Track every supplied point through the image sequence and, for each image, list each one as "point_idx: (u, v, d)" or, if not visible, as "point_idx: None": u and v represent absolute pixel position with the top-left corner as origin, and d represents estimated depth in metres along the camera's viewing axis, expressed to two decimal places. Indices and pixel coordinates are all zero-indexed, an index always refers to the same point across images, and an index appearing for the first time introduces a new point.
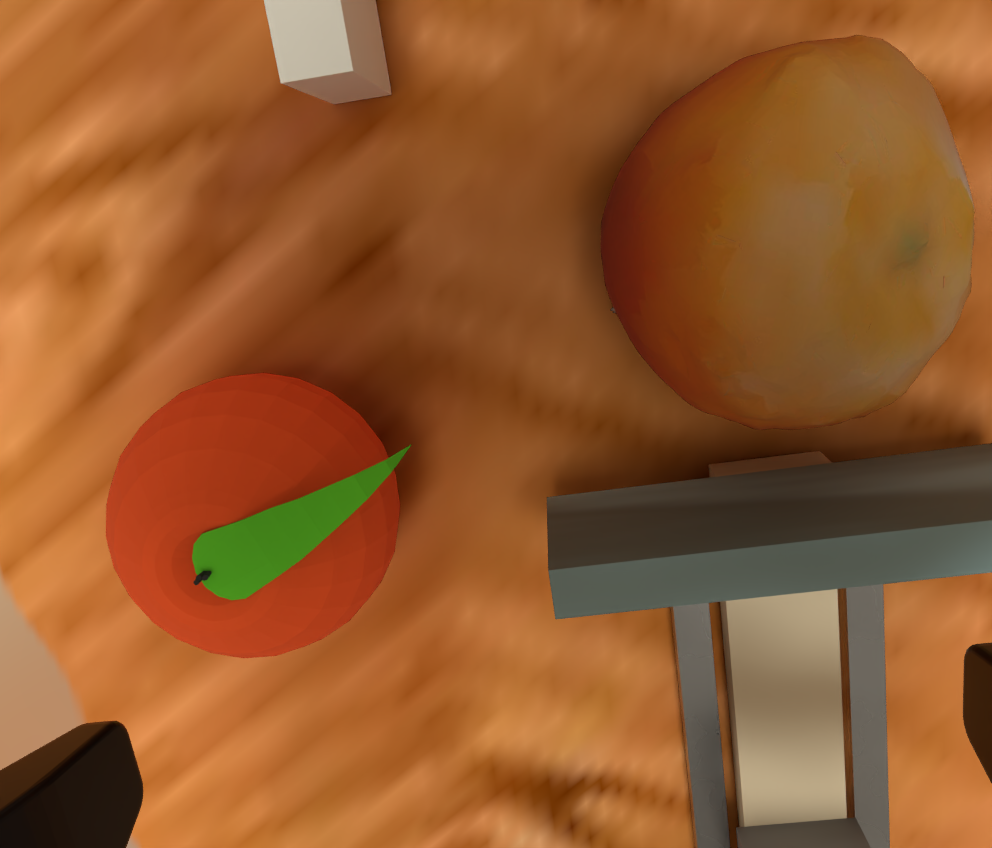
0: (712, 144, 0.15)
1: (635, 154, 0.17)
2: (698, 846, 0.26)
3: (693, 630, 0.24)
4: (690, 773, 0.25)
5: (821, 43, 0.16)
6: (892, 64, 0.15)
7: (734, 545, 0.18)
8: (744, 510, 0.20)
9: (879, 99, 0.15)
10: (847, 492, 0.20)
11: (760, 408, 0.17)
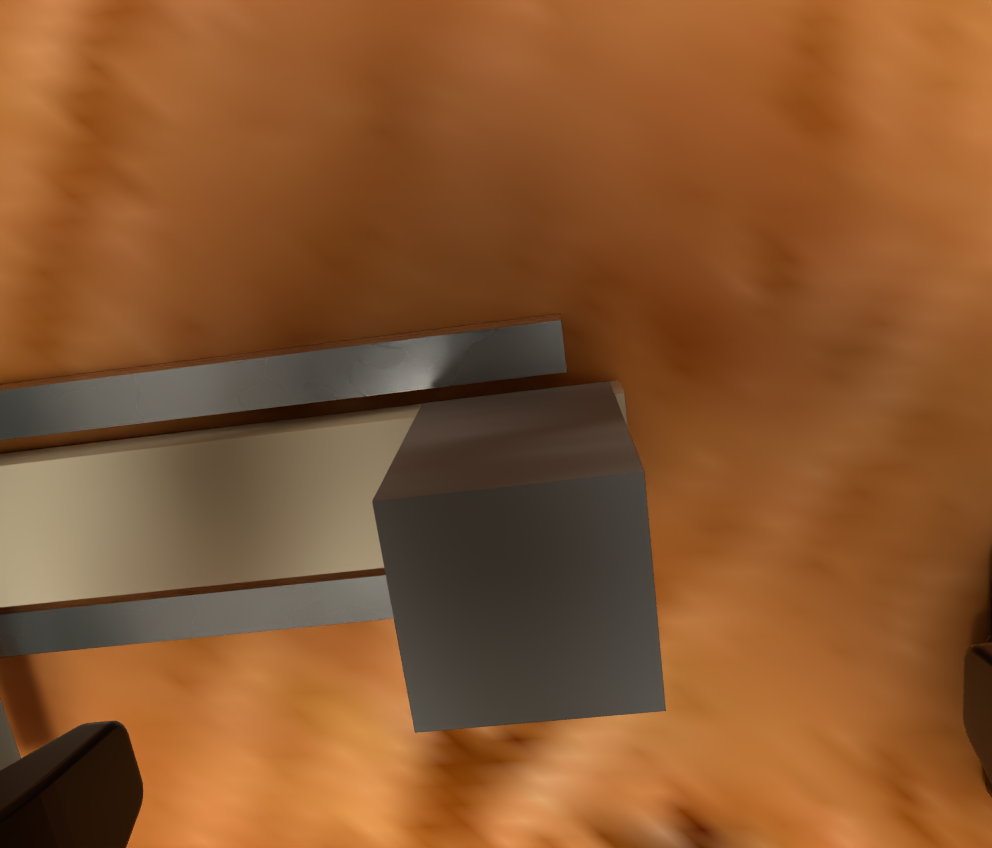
0: None
1: None
2: None
3: (156, 620, 0.18)
4: (385, 616, 0.17)
5: None
6: None
7: None
8: None
9: None
10: None
11: None
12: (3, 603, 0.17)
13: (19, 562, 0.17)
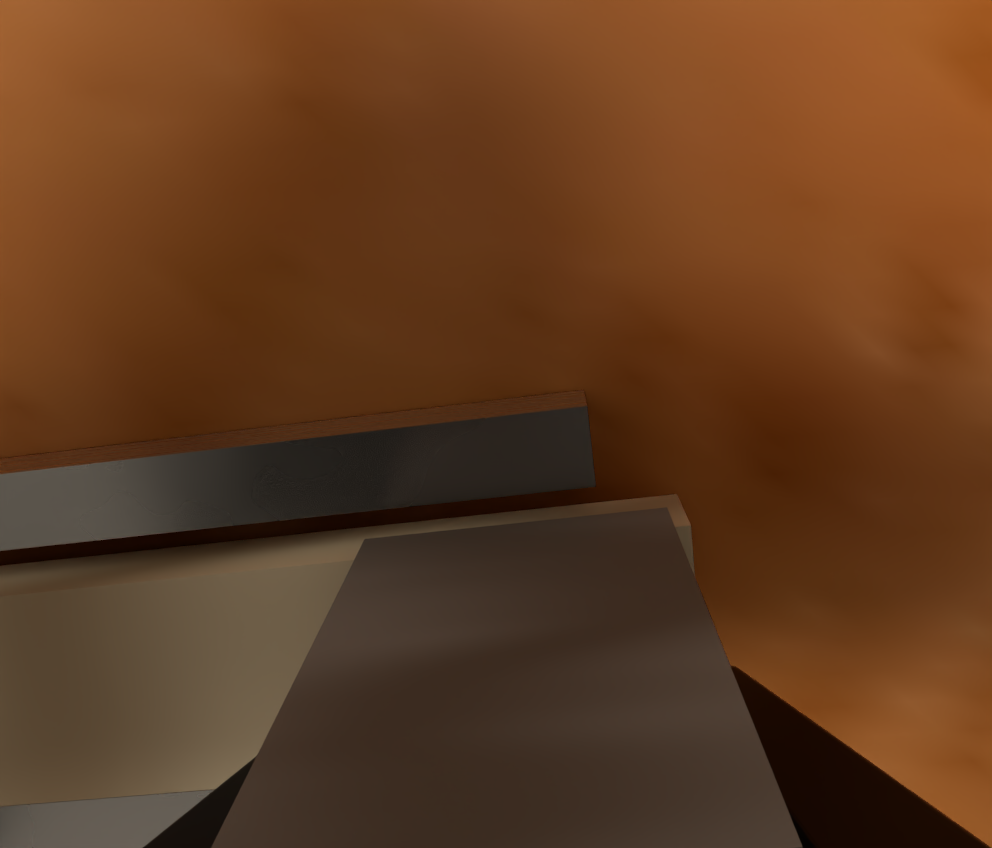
0: None
1: None
2: None
3: None
4: None
5: None
6: None
7: None
8: None
9: None
10: None
11: None
12: None
13: None
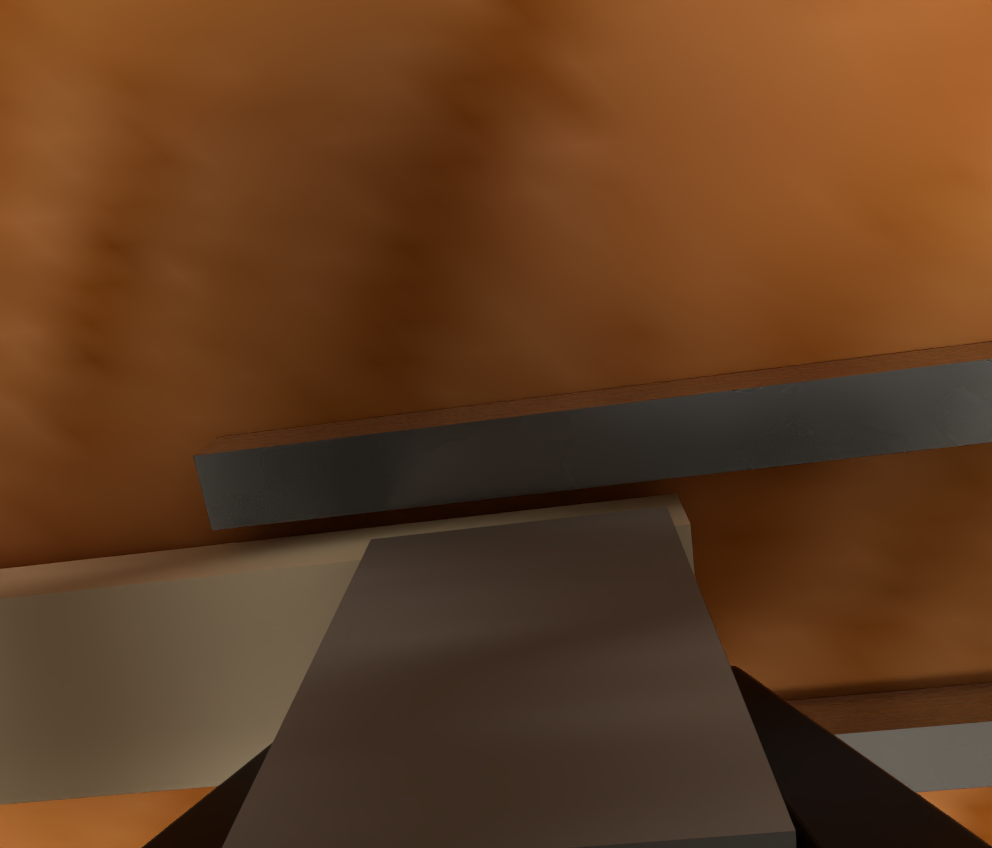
0: None
1: None
2: None
3: None
4: (917, 787, 0.11)
5: None
6: None
7: None
8: None
9: None
10: None
11: None
12: None
13: None
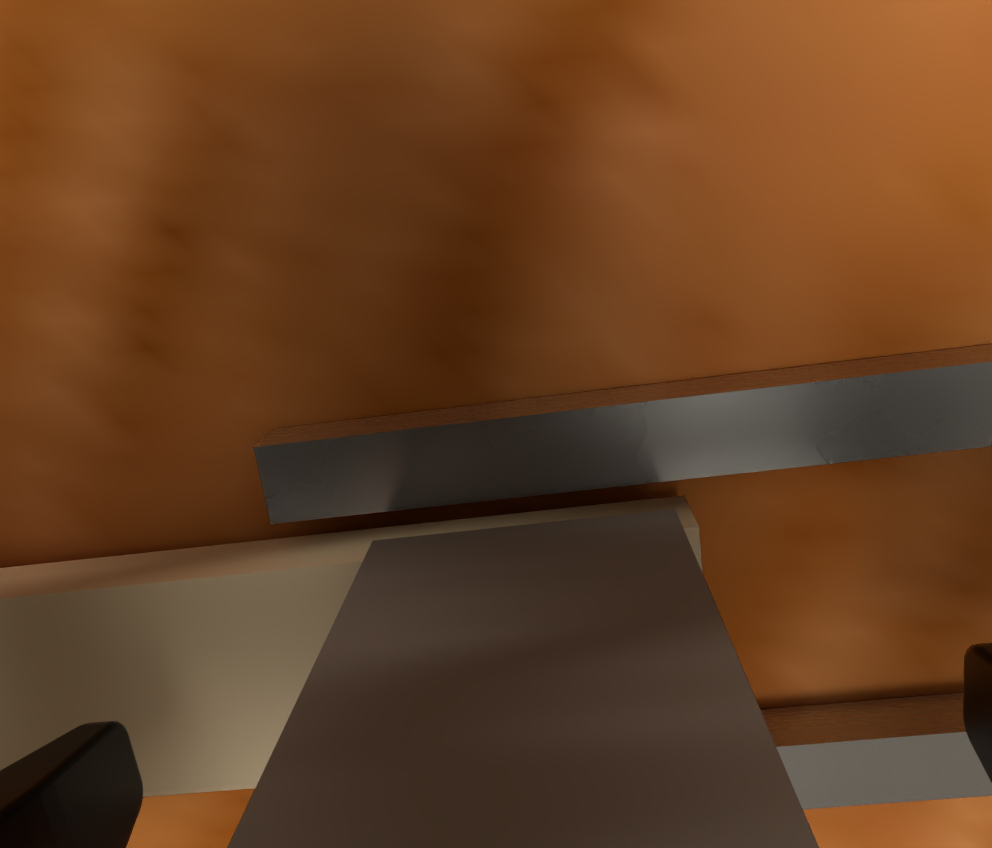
0: None
1: None
2: None
3: None
4: (988, 790, 0.11)
5: None
6: None
7: None
8: None
9: None
10: None
11: None
12: None
13: None
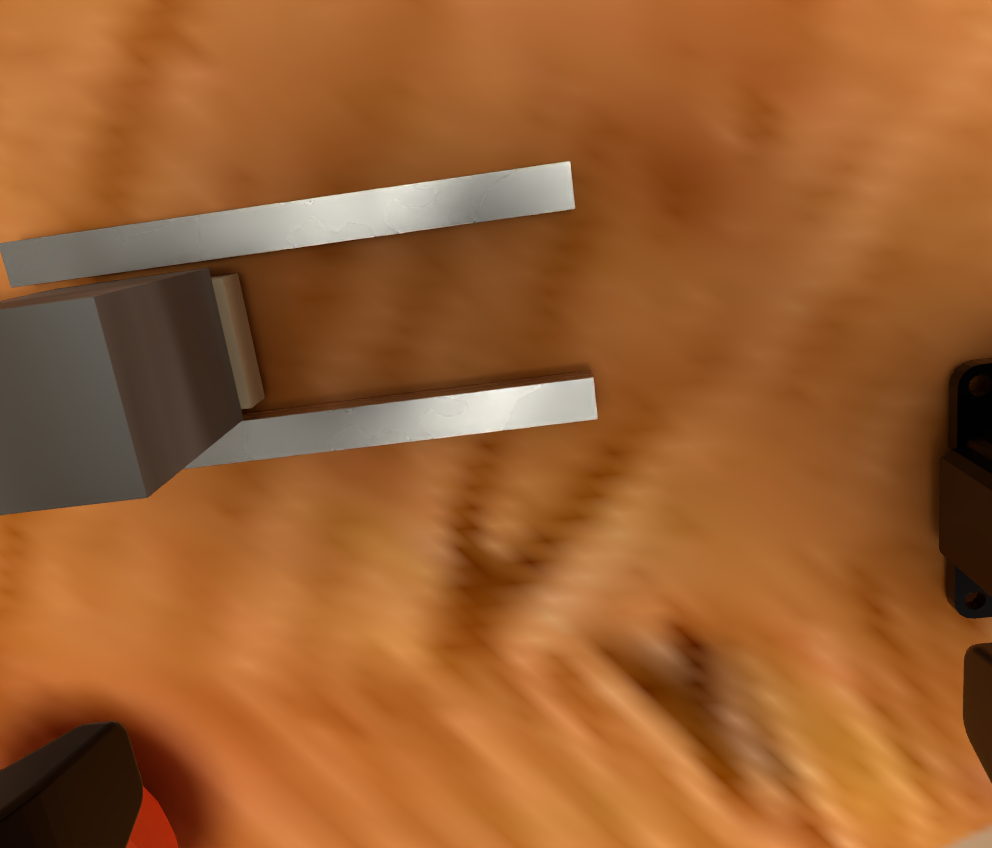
0: None
1: None
2: (525, 426, 0.19)
3: (212, 445, 0.20)
4: (415, 439, 0.20)
5: None
6: None
7: None
8: None
9: None
10: None
11: None
12: None
13: None
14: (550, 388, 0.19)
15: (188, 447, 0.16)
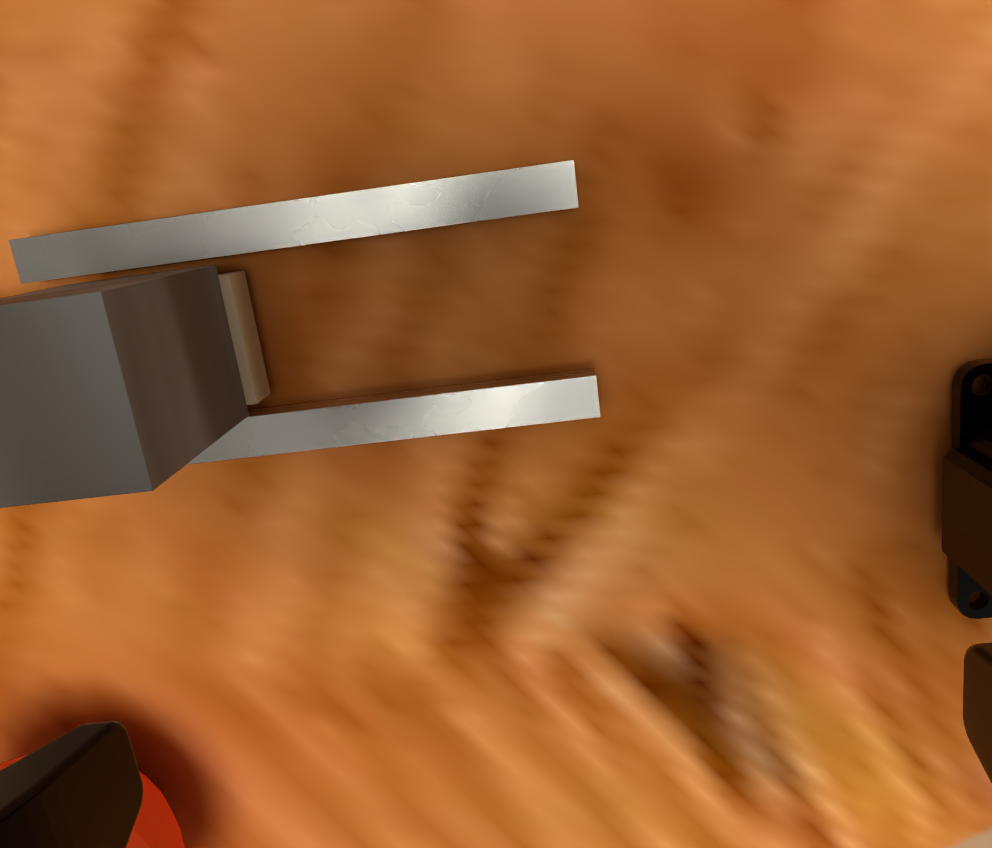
0: None
1: None
2: (528, 423, 0.20)
3: (218, 440, 0.20)
4: (418, 436, 0.20)
5: None
6: None
7: None
8: None
9: None
10: None
11: None
12: None
13: None
14: (553, 385, 0.19)
15: (193, 441, 0.16)
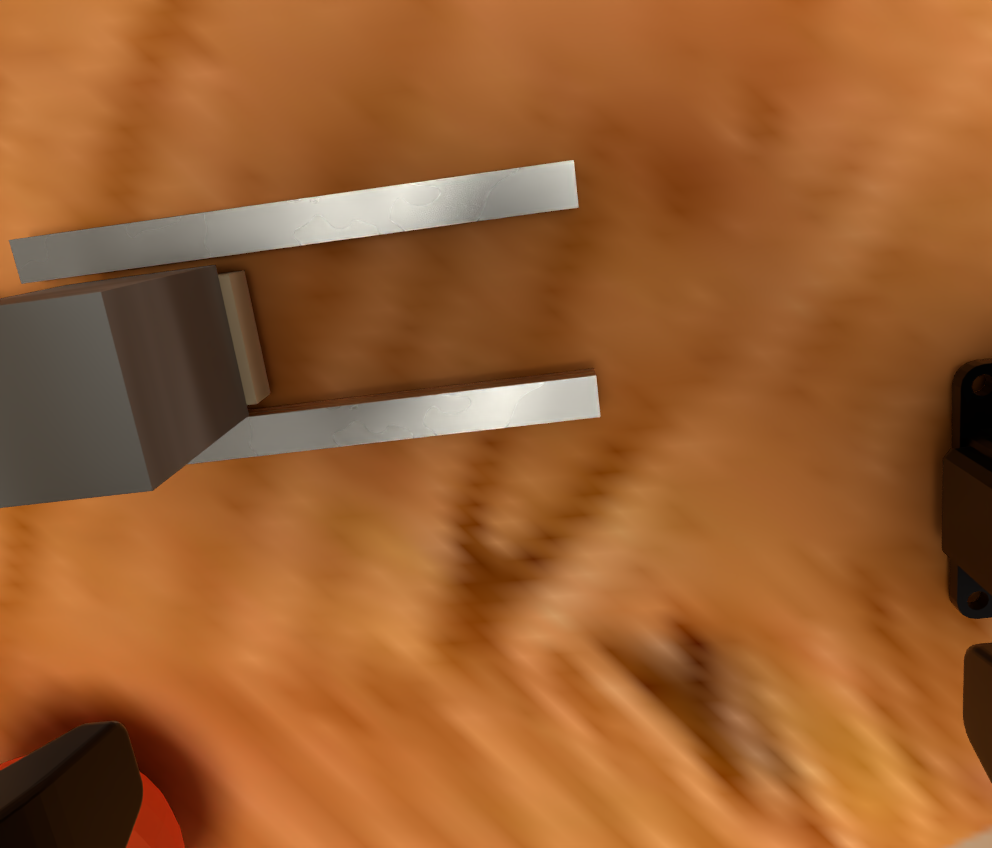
0: None
1: None
2: (528, 423, 0.20)
3: (218, 440, 0.20)
4: (418, 436, 0.20)
5: None
6: None
7: None
8: None
9: None
10: None
11: None
12: None
13: None
14: (553, 385, 0.19)
15: (193, 441, 0.16)
